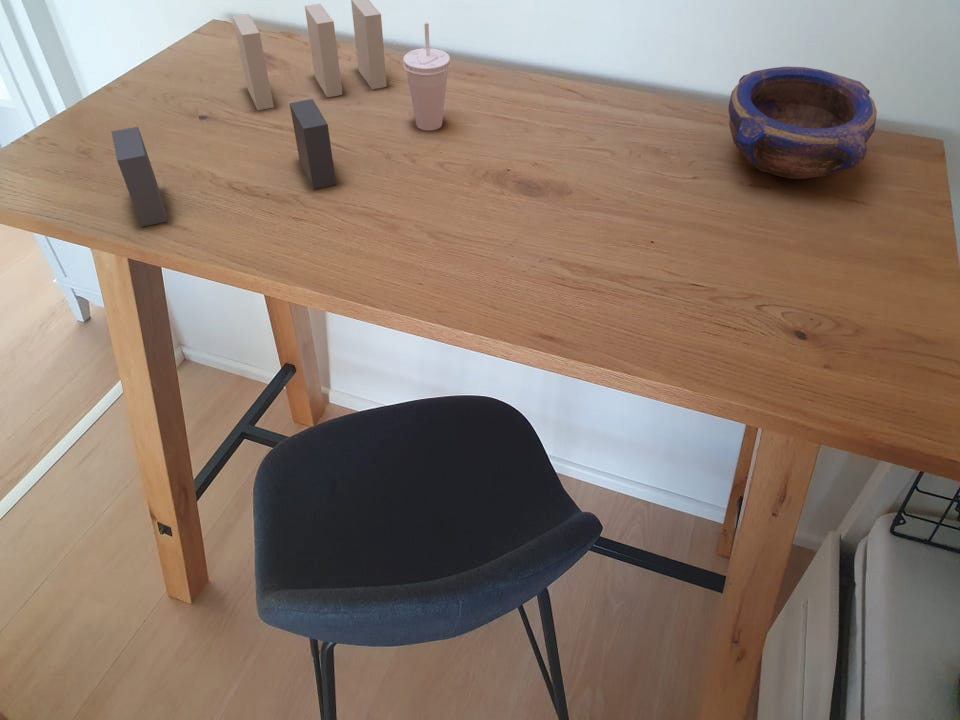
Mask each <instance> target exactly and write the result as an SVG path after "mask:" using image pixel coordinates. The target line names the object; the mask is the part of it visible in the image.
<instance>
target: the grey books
mask: <svg viewBox="0 0 960 720" xmlns="http://www.w3.org/2000/svg"><path fill="white" fill-rule="evenodd" d="M289 108H290V114H291V120H292V125H293V132H294V138H295V143H296V148H297V154H298V159H299V164H300V167H301V168H302V170H303V171H304V174H305V176H306V178H307V179H308V182H309V184H310V185H311V187H312V189H313V190H318V189H323V188H327V187H328V188H329V187H333V186H336V185H337V180H336V174H335V166H334V165H335V164H334V159H333V152H332V151H333V150H332V145H331V137H330V131H329V124H328V122H327V121H326V119H325V117H324V115H323V114H322V112H321V110H320V109H319V107H318V105H317V104H316V102H315V100H314V99H313V98H310V99H305V100H299V101H293V102H290V103H289ZM111 136H112V142H113V147H114V151H115V156H116V161H117V162H116V163H117V164H118V167H119V169H120V172H121V175H122V178H123V180H124V183H125V185H126V189H127V191H128V194H129V197H130V199H131V202H132V205H133V209H134V211H135V213H136V216H137V219H138V221H139V224H140V226H141V228H143V227H149V226H153V225H157V224H162V223H167V222H168V218H167V214H166V210H165V207H164V202H163V199H162V194H161V191H160V188H159V185H158V182H157V178H156V176H155V172H154V170H153V167H152V164H151V160H150V158H149V155H148V151H147V149H146V146H145V142H144V140H143V137H142V134H141V131H140V128H139V126H133V127H128V128H123V129H117V130H112V131H111Z"/></svg>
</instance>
